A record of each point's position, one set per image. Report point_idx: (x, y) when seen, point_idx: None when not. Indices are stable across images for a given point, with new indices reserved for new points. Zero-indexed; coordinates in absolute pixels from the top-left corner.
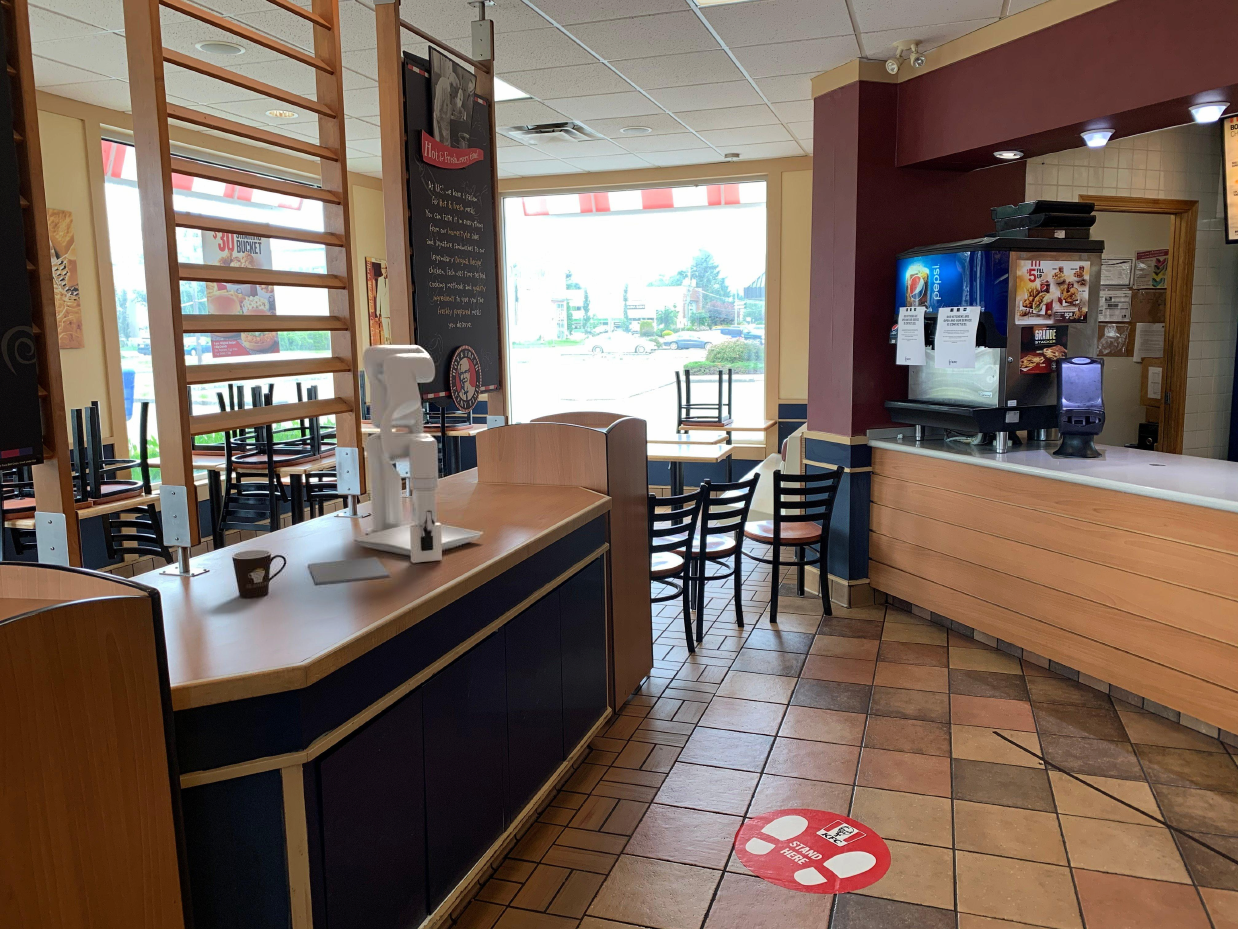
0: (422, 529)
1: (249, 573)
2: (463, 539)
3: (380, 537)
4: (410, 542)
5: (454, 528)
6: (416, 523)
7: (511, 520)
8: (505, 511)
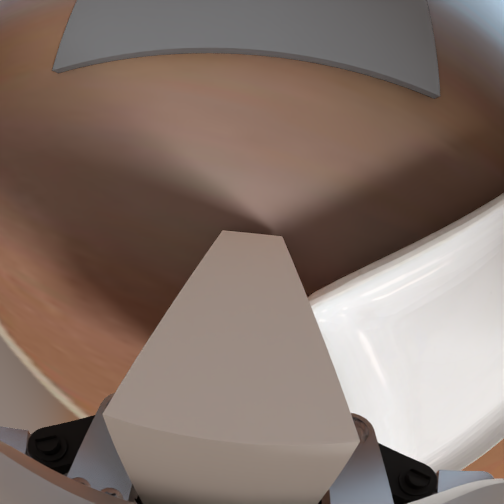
0: (81, 456)
1: None
2: None
3: None
4: (296, 277)
5: (483, 450)
6: (33, 497)
7: None
8: (498, 472)
